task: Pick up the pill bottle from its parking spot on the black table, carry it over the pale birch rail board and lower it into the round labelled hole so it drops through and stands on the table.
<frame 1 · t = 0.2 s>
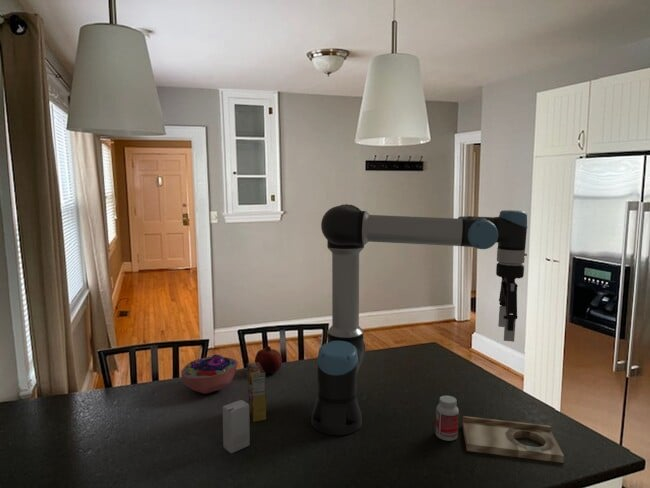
hand: (505, 333, 135), 27 cm above the kitchen island, fingers open, 13 cm apart
candy box: (256, 415, 140), on the kitchen island
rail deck: (509, 443, 126), on the kitchen island
pill bottle: (446, 436, 129), on the kitchen island
fruit: (268, 373, 172), on the kitchen island
skincare box: (236, 447, 122), on the kitchen island
cell model: (210, 389, 157), on the kitchen island
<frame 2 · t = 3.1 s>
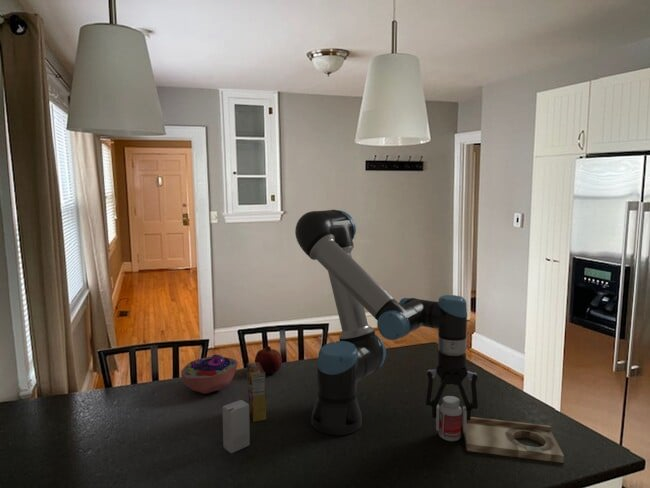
hand: (450, 429, 129), 2 cm above the kitchen island, fingers open, 7 cm apart
pill bottle: (449, 436, 129), on the kitchen island, touching gripper
everything else where it was.
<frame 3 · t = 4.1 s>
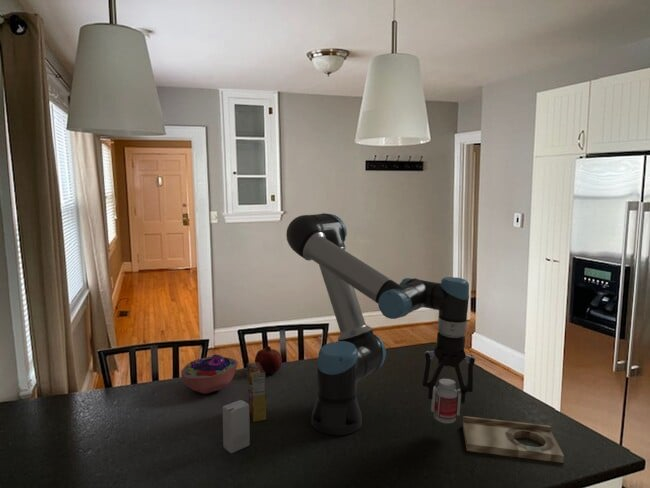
hand: (445, 411, 129), 7 cm above the kitchen island, fingers closed on pill bottle, 6 cm apart
pill bottle: (444, 419, 129), point 5 cm above the kitchen island, touching gripper
everything else where it was.
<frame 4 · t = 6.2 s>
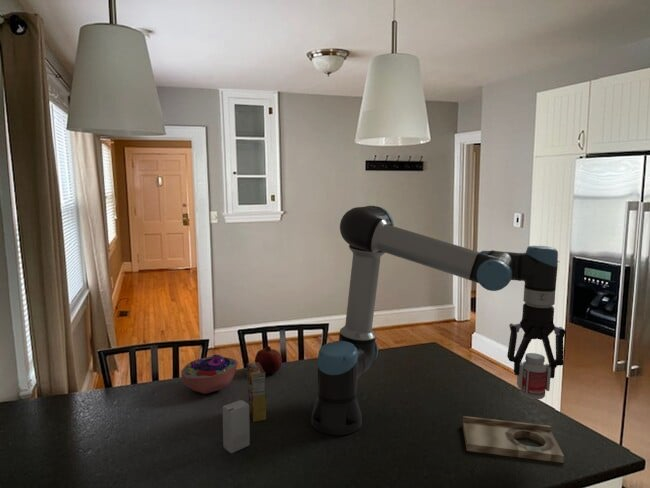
hand: (532, 387, 123), 17 cm above the kitchen island, fingers closed on pill bottle, 6 cm apart
pill bottle: (532, 395, 123), point 15 cm above the kitchen island, touching gripper
everything else where it was.
when the fingers open (3 cm above the kitchen island, at t = 8.5 s): pill bottle drops 1 cm, resting in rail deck.
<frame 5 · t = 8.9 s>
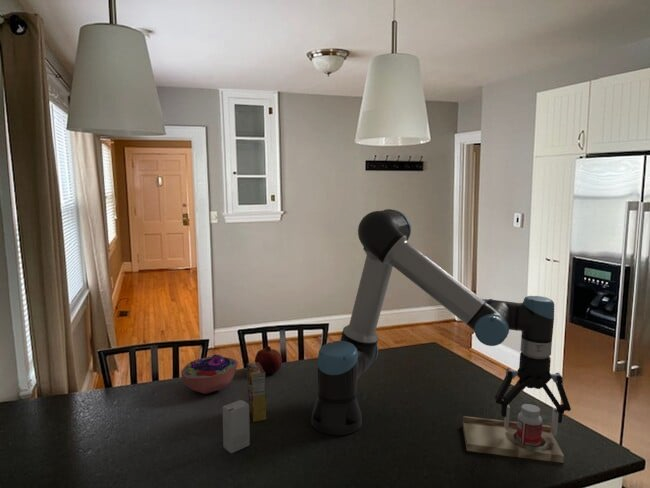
hand: (529, 430, 124), 4 cm above the kitchen island, fingers open, 11 cm apart
pill bottle: (528, 446, 125), resting in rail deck
everything else where it was.
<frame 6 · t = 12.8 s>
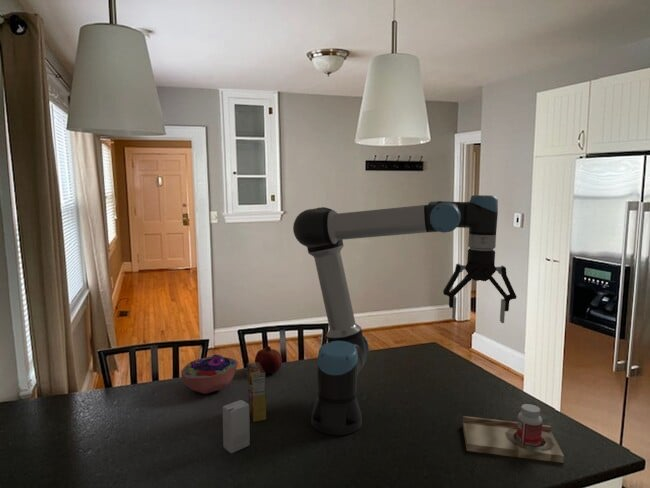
hand: (477, 320, 133), 32 cm above the kitchen island, fingers open, 13 cm apart
nothing on the kitchen island moved.
at the end: pill bottle 0.2 cm from the target spot on the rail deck, point 0.0 cm above the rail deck's base; pill bottle touching kitchen island; pill bottle tilted 0° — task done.
